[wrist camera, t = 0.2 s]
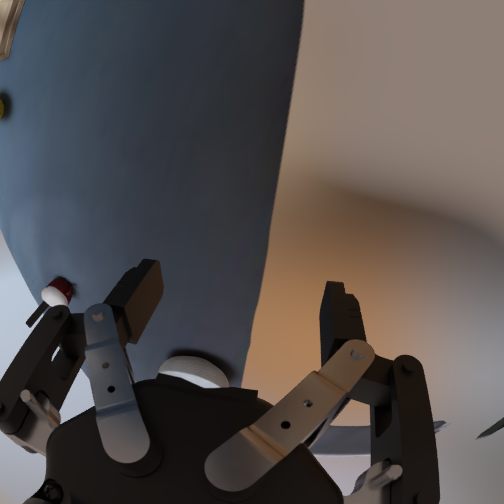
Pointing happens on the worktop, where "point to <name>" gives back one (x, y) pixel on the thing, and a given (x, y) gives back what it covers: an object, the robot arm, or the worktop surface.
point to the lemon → (1, 109)
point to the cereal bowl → (195, 371)
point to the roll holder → (8, 24)
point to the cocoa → (52, 298)
